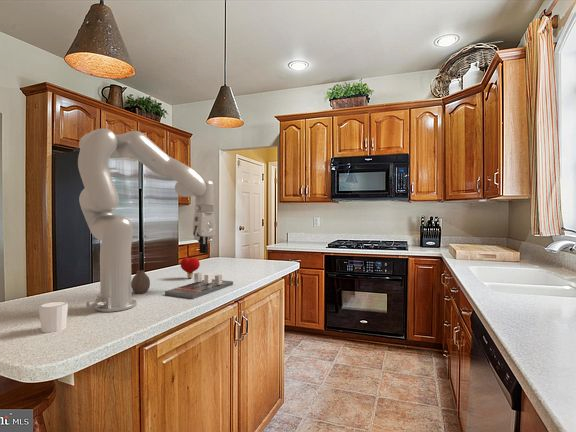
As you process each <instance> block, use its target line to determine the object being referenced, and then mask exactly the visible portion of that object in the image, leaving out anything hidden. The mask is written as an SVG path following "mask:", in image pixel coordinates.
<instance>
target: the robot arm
mask: <svg viewBox="0 0 576 432" xmlns="http://www.w3.org/2000/svg"><path fill="white" fill-rule="evenodd" d="M78 145H79V146H78V147H79V149H80V150H79V153H78V157H77V167H78V172H79V175H80V179H81V180H82V184H83V187H84V188H83V189H82V190H81V192H80V194H79V199H78V201H79V205H80V209H81V211H82V214H83V216H84V219H85V222H86V224H87V227H88V228H89V229H88V230H89V231H90V234H91V235H92V236H93V237H94V238H95V239H97V240H99V241H101V245H100V250H99V268H100V269H99V274H100V275H99V277H100V278H99V280H100V281H99V284H100V285H99V290H100V291H99V292H100V295H97V298H95V299H94V300H91V301H90V300H89V301H87V302H86V303H85V304H86V308H88V309H89V308H93V307H95V308H94V309H95V311H97V312H100V313H101V312H103V313H104V312H105V313H110V312H121V311H125V310H129V309H132V308H133V307H136V306H137V303H138V302H137V300H136V299H133V298H132V296H133V294H132V291H133V290H132V283H131V282H132V246H133V245H132V244H133V239H134V226H133V224H132V221H131V220H130V219H129V218H128V217H126V216H124V215H121V214H115V212H114V210H116V209H117V207H118V206H119V204H120V197H119V194H118V191H117V188H116V186H115V183H114V180H113V178H112V175H111V170H110V166H109V161H110V159H119V158H120V159H121V158H130V157H133V158H135V160H137V161H139V162H140V163H141V164H142V165H143V166H145V167H146V168H147V169H148V170H150V172H152V173H153V174H155V175H158V176H161V177H165V178H169V179H172V180H174V181H176V182H175V186H174V191H175V193H176V194H177V195H179V196H180V197H183V198H188V197H189V198H190V197H191V198H192V197H194V198H195V200H194V202H195V203H194V215H193V222H192V235H193V236H194V237H193V239H194V240H196V241H197V242H198V244H199V250H198V251H199V252H198V253H199V254H209V252H208V251H209V243H210V241H211V239H213V238H214V236H216V235H217V225H216V214H215V213H214V204H215V203H214V199H215V197H214V191H215V188H214V187H215V186H214V185H215V184H214V182H213V181H212V180H210V179H209V180H208V179H203V178H202V176H201V175H199V174H198V172H196V170H194V169H193V168H191V167H190V166H188V165H187V164H185V163H183V162H181V161H179V160H178V159H175V158H173V157H171V156H170V155H168V154H167V153H166V152H165V151H164V150H163V149H161V148H160V147H159V146H158V145H157V144H156V143H154V142H153V141H152V140H151V139H150V138H149V137H148V136H147V135H145V134H144V133H143V132H141V131H138V130H131V131H127V132H125V133H122V134H121V133H120V134H115V132H113V131H112V130H111V129H108V128H103V127H102V128H97V129H94V130H92V131H90V132H88V133H86V134H84V135H83V136H82V137H81V138H80V139H79V142H78Z"/></svg>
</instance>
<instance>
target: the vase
mask: <svg viewBox="0 0 576 432" xmlns="http://www.w3.org/2000/svg"><path fill="white" fill-rule="evenodd" d="M131 283H132V291H133V292H134V293H135V294H137V295H138V294H139V295H140V294H142V295H143V294H146V293H147V292H148V291H149V289H150V287H151V281H150V277H149V276H148V275H147V273H146V272H145V271H144V270H142V269H141V270H137V271H136V273H135V275H134V276H133V277H132V278H131Z"/></svg>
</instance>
